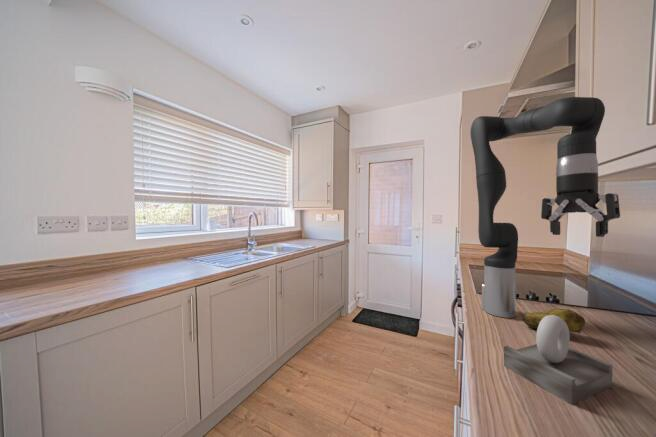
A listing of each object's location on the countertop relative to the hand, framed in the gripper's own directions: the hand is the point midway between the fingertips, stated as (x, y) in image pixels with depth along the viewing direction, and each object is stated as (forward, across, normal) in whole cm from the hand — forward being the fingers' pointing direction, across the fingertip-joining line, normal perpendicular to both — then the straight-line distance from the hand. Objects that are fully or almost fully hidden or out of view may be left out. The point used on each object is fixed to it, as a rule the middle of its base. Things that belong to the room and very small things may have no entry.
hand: (576, 235), depth 61 cm
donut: (+27, -4, +18) cm, 33 cm away
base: (+30, -4, +18) cm, 35 cm away
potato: (+30, +8, -6) cm, 32 cm away
